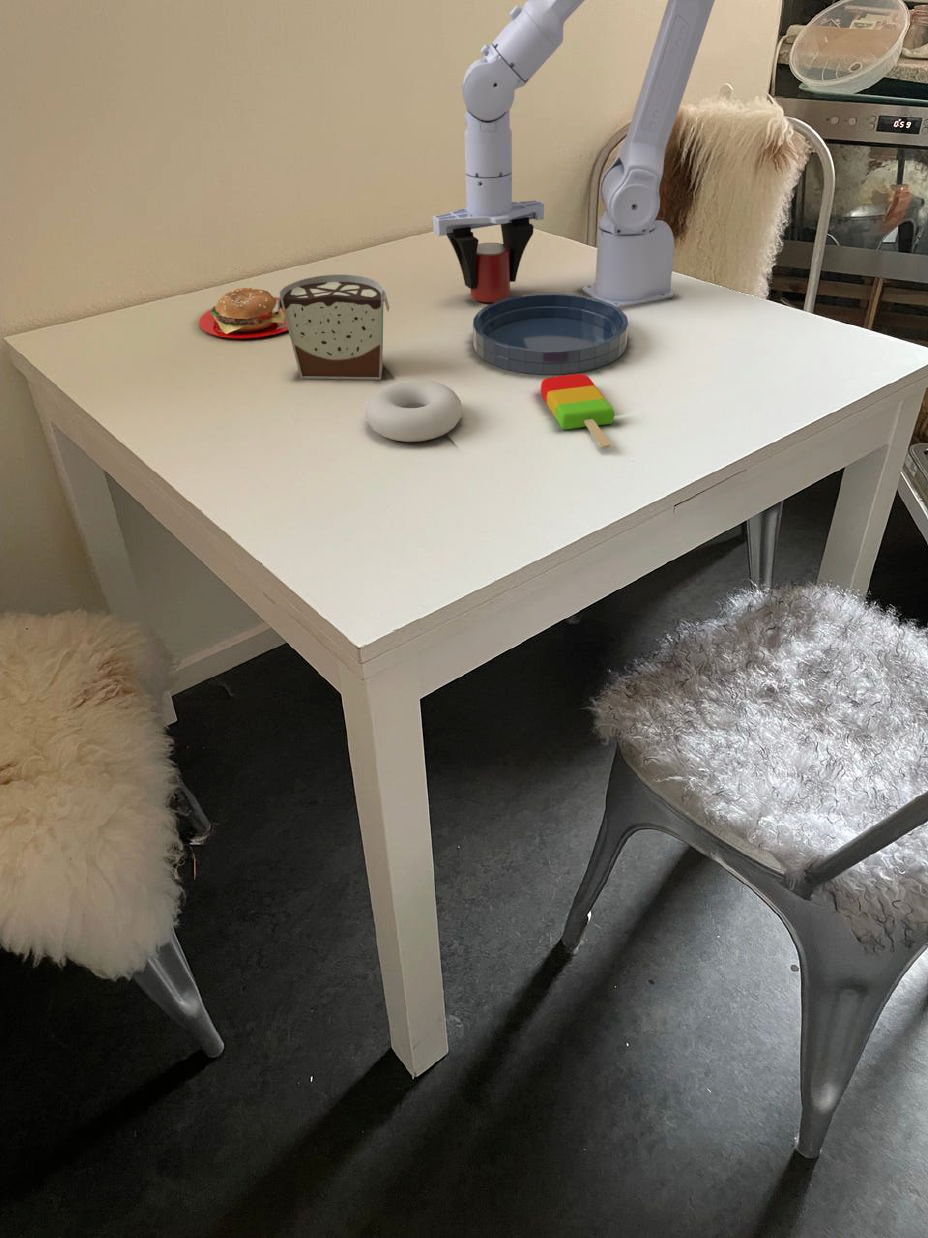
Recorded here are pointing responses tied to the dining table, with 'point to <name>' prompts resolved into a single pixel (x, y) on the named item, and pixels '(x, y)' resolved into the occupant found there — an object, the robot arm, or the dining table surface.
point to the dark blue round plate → (550, 333)
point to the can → (492, 272)
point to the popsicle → (578, 404)
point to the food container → (336, 326)
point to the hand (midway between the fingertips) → (489, 282)
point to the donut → (413, 410)
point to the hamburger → (245, 315)
